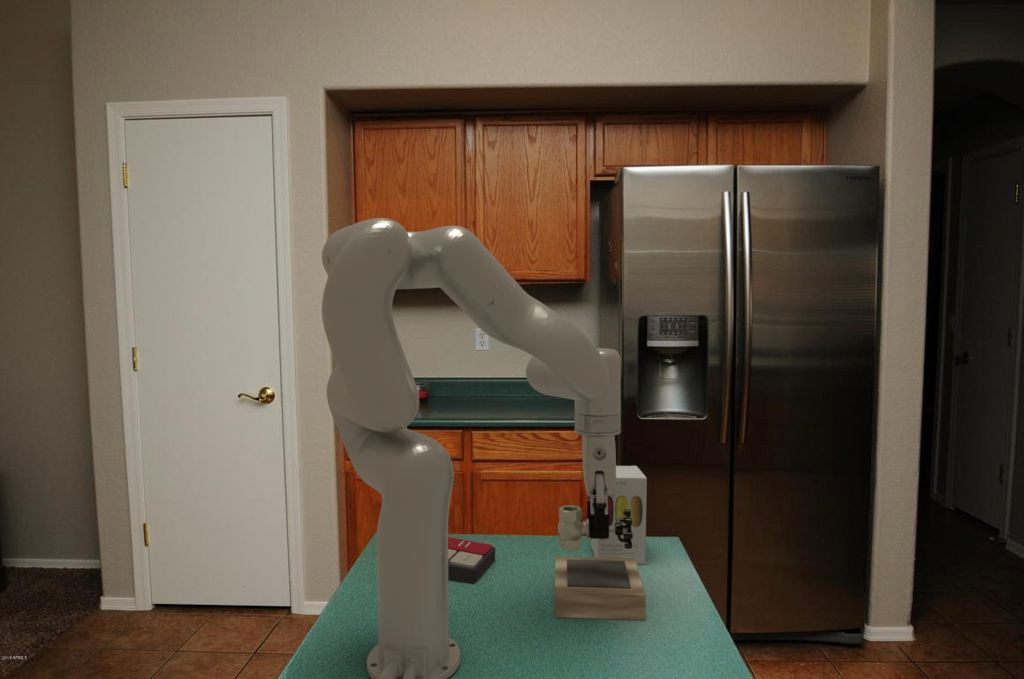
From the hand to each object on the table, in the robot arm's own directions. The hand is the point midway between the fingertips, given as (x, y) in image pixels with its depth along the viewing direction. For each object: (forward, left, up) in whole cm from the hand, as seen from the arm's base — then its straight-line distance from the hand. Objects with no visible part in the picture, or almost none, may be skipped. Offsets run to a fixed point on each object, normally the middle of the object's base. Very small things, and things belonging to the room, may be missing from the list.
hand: (597, 529), depth 102 cm
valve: (0, +1, -3) cm, 3 cm away
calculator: (+10, +27, -12) cm, 32 cm away
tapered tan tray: (0, 0, -11) cm, 11 cm away
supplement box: (+18, -5, -12) cm, 22 cm away
